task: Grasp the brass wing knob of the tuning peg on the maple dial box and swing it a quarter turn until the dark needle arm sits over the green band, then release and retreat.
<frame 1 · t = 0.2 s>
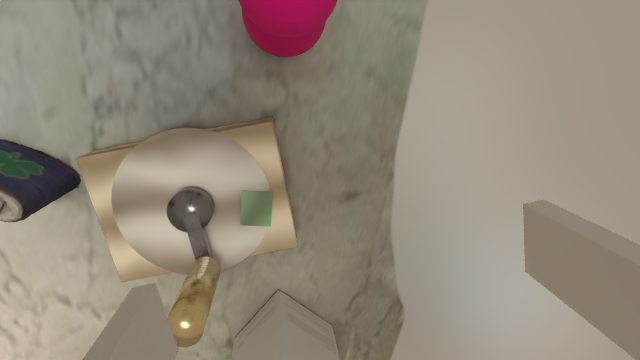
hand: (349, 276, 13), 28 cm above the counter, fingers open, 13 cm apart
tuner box: (202, 192, 40), on the counter
supplement box: (283, 331, 46), on the counter
flask: (35, 163, 38), on the counter
pepper mill: (284, 19, 37), on the counter
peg: (187, 257, 32), point 10 cm above the counter, hinge at 0.0°
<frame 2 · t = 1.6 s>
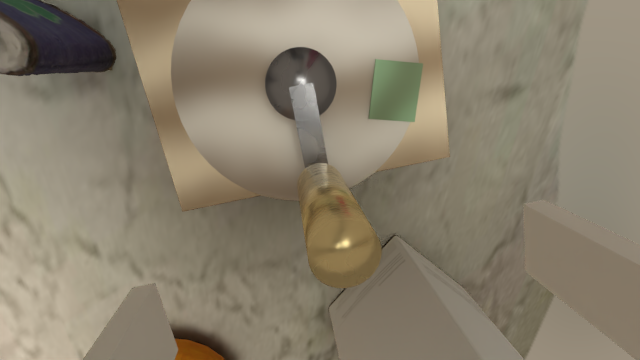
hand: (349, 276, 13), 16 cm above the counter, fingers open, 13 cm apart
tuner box: (296, 81, 27), on the counter
supplement box: (396, 297, 33), on the counter
flask: (47, 27, 24), on the counter
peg: (316, 143, 18), point 10 cm above the counter, hinge at 0.0°
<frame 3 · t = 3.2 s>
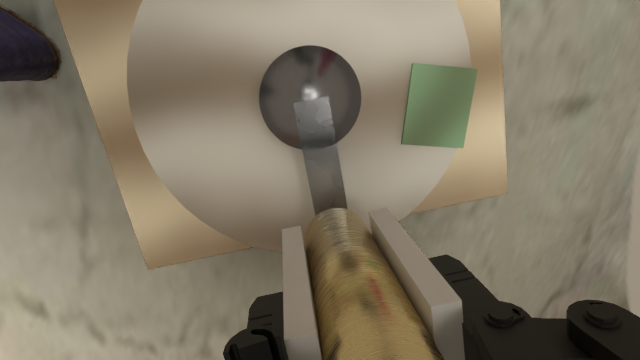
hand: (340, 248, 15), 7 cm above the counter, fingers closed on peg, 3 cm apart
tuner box: (301, 92, 20), on the counter
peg: (336, 192, 12), point 10 cm above the counter, hinge at 0.0°, touching gripper
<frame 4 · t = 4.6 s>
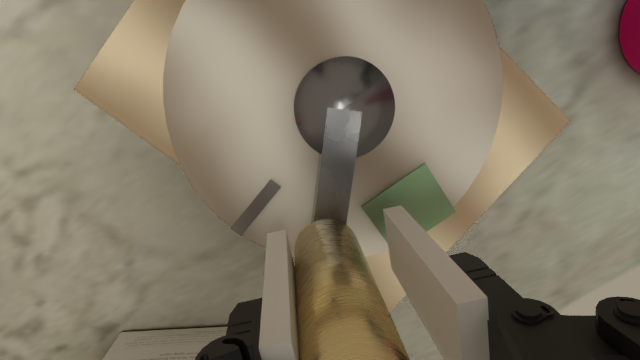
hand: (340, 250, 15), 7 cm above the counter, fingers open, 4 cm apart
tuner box: (328, 100, 21), on the counter
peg: (350, 204, 12), point 10 cm above the counter, hinge at 33.0°, touching gripper
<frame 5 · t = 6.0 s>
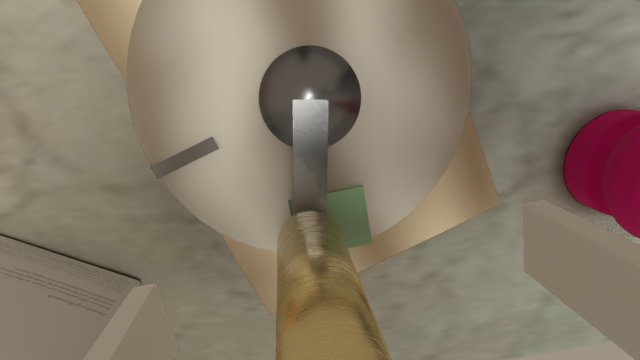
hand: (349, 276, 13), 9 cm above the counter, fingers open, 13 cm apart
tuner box: (301, 92, 20), on the counter
supplement box: (46, 314, 22), on the counter
pepper mill: (607, 159, 24), on the counter
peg: (319, 194, 12), point 10 cm above the counter, hinge at 63.9°
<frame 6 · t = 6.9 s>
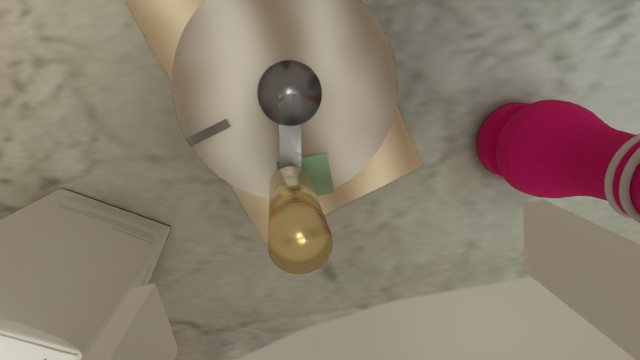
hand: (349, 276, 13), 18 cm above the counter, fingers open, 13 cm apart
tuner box: (286, 90, 29), on the counter
supplement box: (101, 252, 31), on the counter
pepper mill: (509, 139, 33), on the counter
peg: (293, 147, 20), point 10 cm above the counter, hinge at 63.9°
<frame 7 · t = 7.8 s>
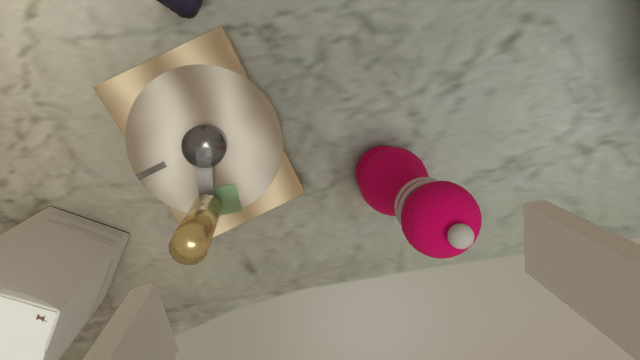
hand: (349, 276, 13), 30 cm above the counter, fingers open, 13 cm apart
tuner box: (212, 137, 41), on the counter
supplement box: (78, 252, 42), on the counter
pepper mill: (380, 171, 45), on the counter
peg: (198, 185, 32), point 10 cm above the counter, hinge at 63.9°
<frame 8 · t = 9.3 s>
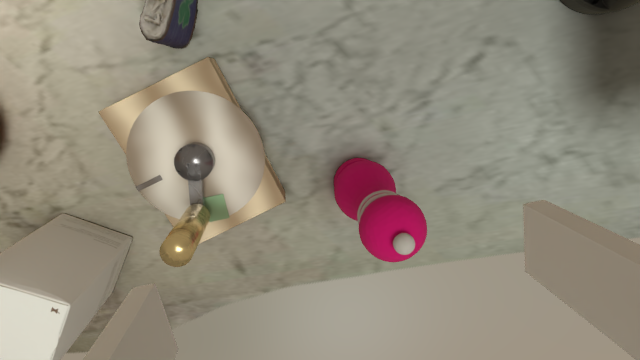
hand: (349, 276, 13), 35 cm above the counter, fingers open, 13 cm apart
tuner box: (204, 152, 46), on the counter
supplement box: (88, 253, 48), on the counter
flask: (184, 6, 42), on the counter
pepper mill: (357, 180, 49), on the counter
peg: (187, 197, 37), point 10 cm above the counter, hinge at 63.9°
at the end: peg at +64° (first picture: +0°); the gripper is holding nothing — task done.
